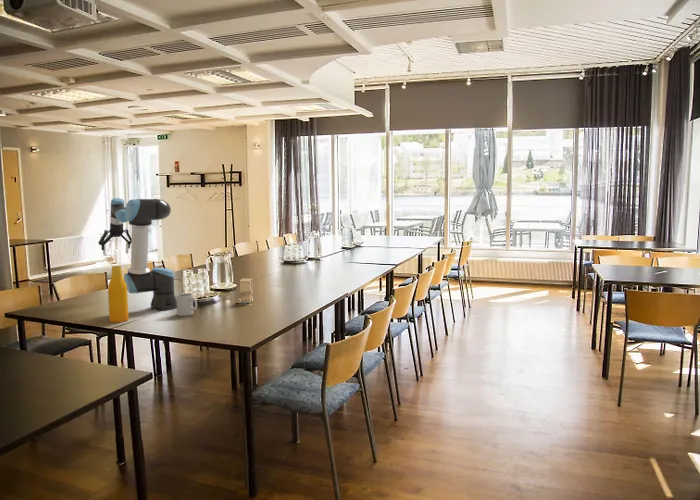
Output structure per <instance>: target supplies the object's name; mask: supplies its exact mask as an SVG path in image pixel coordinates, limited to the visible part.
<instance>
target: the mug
mask: <svg viewBox="0 0 700 500" xmlns="http://www.w3.org/2000/svg"><path fill="white" fill-rule="evenodd" d="M176 299H177V308H176V314H177V316H179V317H188V316H192V315H194V311H196V310H197V308H198V300H197V299H196V298H194V297H193V293H189V292H188V293H187V292H186V293H178V294H177V295H176Z"/></svg>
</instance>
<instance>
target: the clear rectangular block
mask: <svg viewBox="0 0 700 500" xmlns="http://www.w3.org/2000/svg"><path fill="white" fill-rule="evenodd" d="M253 283H254V282H253V278H241V279H240V280H239V289H240V290H239V295H240V297H239V298H240V299H239V300H240V301H241V303H250V302H251V301H253V296H254V295H253V293H254V290H253V289H254V288H253V286H254V285H253Z"/></svg>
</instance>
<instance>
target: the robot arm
mask: <svg viewBox="0 0 700 500" xmlns="http://www.w3.org/2000/svg"><path fill="white" fill-rule="evenodd" d="M171 212H172V208H171V205H170V204H169V203H168V201H165V200H163V199H162V198H161V199H160V198H136V199H135V198H133V199H130V200H128V201H127V203H126V205H125V200H124V199H123V198H119V197H115V198H114V197H113V198H112V199H111V200H110V218H109V219H110V222H109V229H108V230H107V229H105V230H103V231H104V232H103V234H102V236H101V237H100V239H99V240H98V245H99V246H101V250H102V255H103V256H106V250H107V249H106V245H107V244H108V242H109V241H110V240H111V239H113V238H120V237H121V238H122V239H123V241H125V254H126V255H128V254H129V250H131V252H130V255H131V256H130V267H129V268H128V269H127V272H126V273H124V275H123V279H124V281H125V283H126V285H127V293H129V294H141V293H148V292H149V293H150V292H152V299H151V303H150V309H151V310H154V311H168V310H174V309H177V296H176V294H175V276H174V270H173V269H172V268H171V269H170V268H165V267H152V269H150V268H149V267H148V262H149V261H148V260H149V259H148V258H149V257H148V255H149V251H148V250H149V228H150V226H151V225H152V224H153V223H152V222H153V221H160V220H164V219H166V218H168V217H169V216H170V215H171ZM124 223H128V224H129V225H130V226H131V235H130V233H129V229H128V228H125V229H124ZM124 234H126V236H127V237H125V236H124ZM127 238H128V239H127Z"/></svg>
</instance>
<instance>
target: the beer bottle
mask: <svg viewBox="0 0 700 500" xmlns="http://www.w3.org/2000/svg"><path fill="white" fill-rule="evenodd" d="M122 272H123V271H122V266H121V265H112V266H111V273H110V274H111V275H110V280H109V282H108V286H107V294H108V295H107V296H108V297H107V298H108V314H109V315H108V316H109V318H108V319H109V322H111V323H115V324H116V323H117V324H118V322H119V323H125V322H127V321H128V320H129V316H130V315H129V302H128V301H129V300H128V291H127V285H126V283H125V281H124V275H123V273H122Z"/></svg>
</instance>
